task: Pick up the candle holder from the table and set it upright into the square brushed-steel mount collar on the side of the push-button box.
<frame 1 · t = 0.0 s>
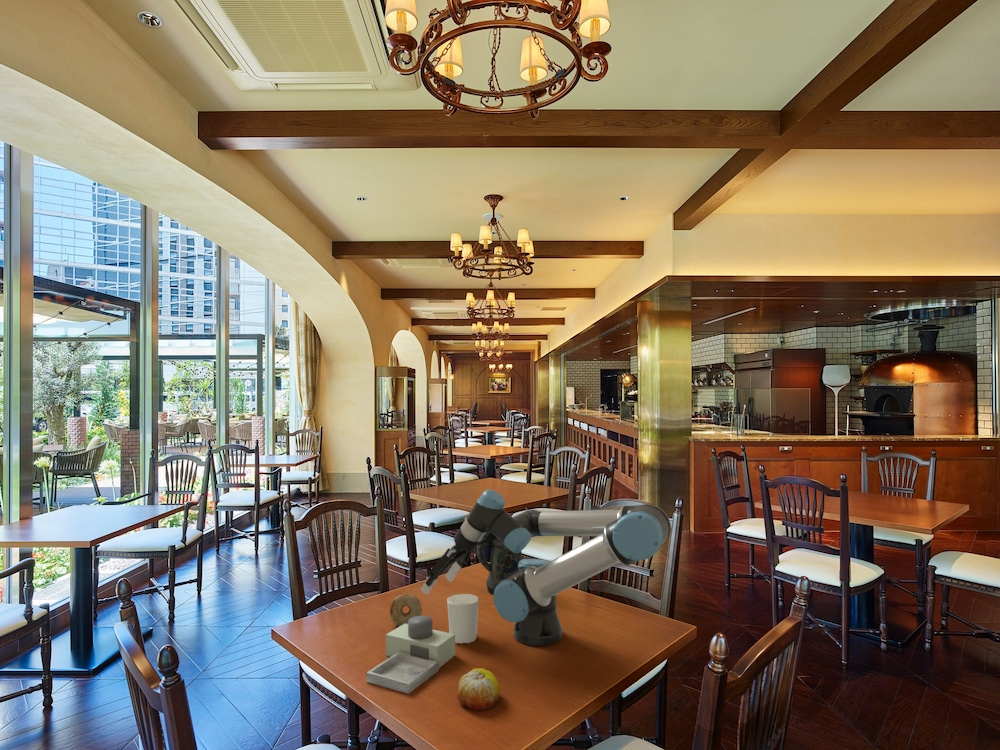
hand: (436, 585, 177), 15 cm above the table, tool tilted 35°, fingers open, 13 cm apart
fruit: (478, 701, 137), on the table
candle holder: (463, 639, 173), on the table
stone disc: (405, 626, 183), on the table
chute mount: (403, 676, 150), on the table
beer stein: (504, 591, 216), on the table
push-button box: (420, 655, 162), on the table
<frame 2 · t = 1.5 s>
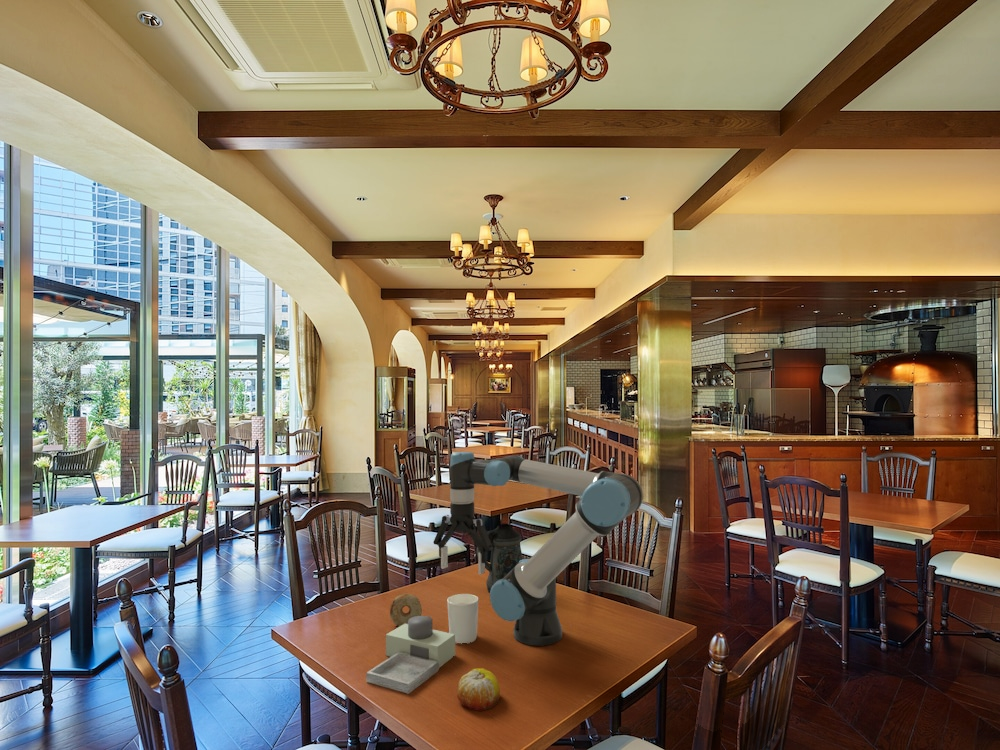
hand: (462, 570, 174), 21 cm above the table, tool pointing down, fingers open, 13 cm apart
nothing on the table moved.
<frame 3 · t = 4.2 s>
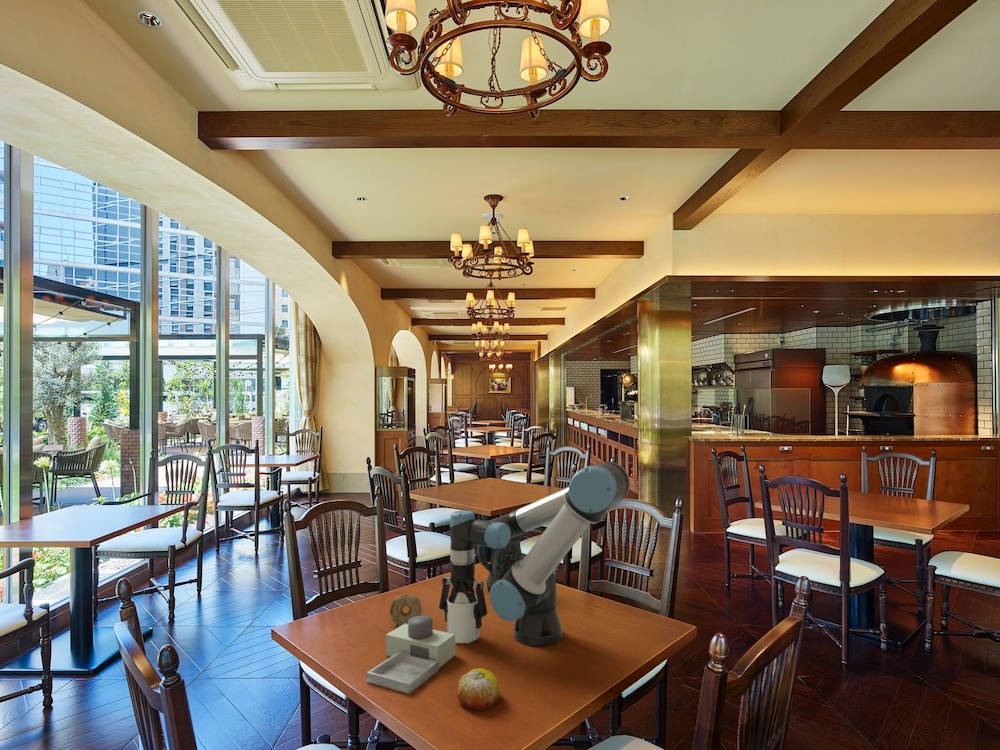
hand: (463, 635, 173), 1 cm above the table, tool pointing down, fingers closed on candle holder, 9 cm apart
candle holder: (463, 639, 173), on the table, touching gripper
everything else where it was.
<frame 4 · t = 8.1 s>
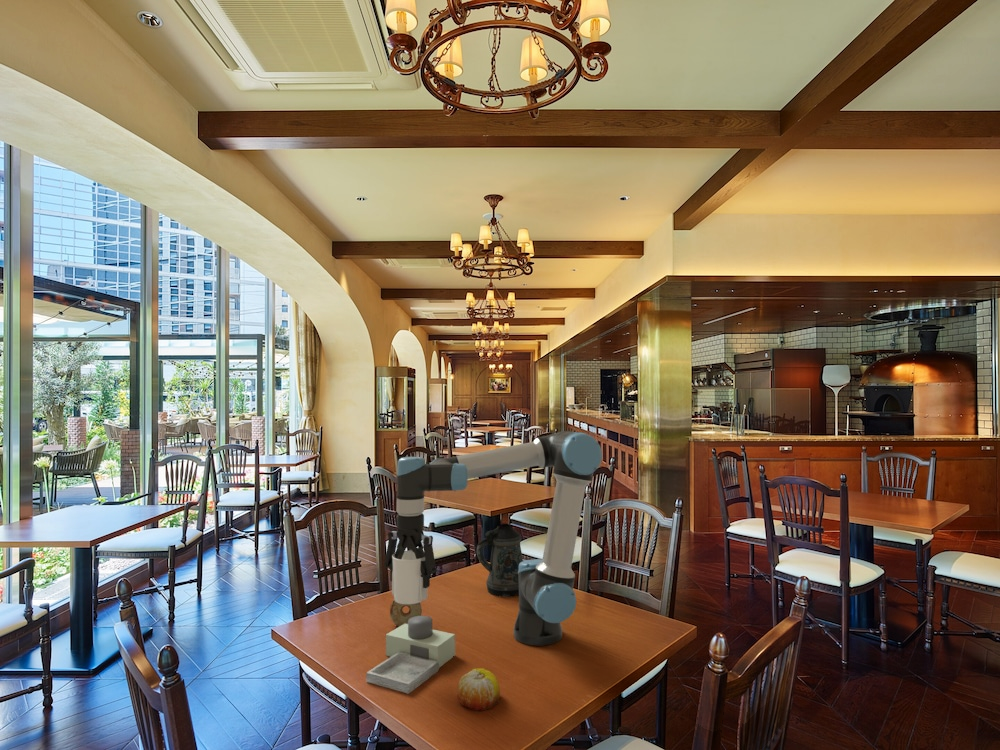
hand: (409, 596, 153), 20 cm above the table, tool pointing down, fingers closed on candle holder, 9 cm apart
candle holder: (409, 599, 153), point 19 cm above the table, touching gripper
everything else where it was.
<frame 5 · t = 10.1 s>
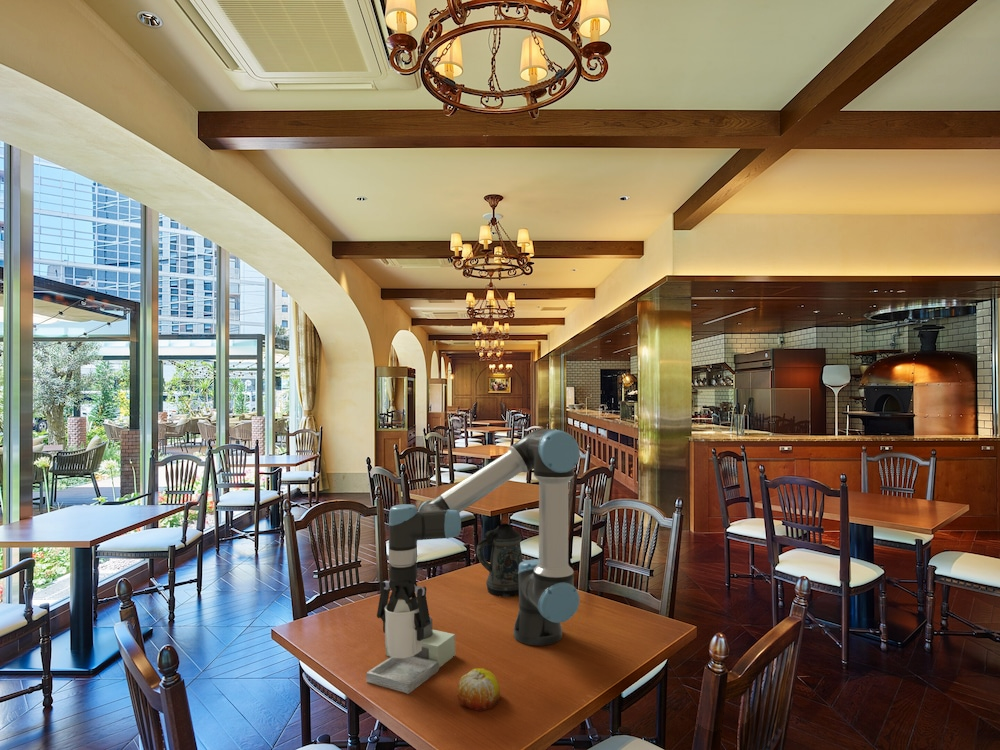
hand: (403, 648, 150), 7 cm above the table, tool pointing down, fingers closed on candle holder, 9 cm apart
candle holder: (403, 652, 150), point 6 cm above the table, touching gripper
everything else where it was.
when the fingers open (2 cm above the table, at t = 12.0 s): candle holder stays where it is, resting on chute mount.
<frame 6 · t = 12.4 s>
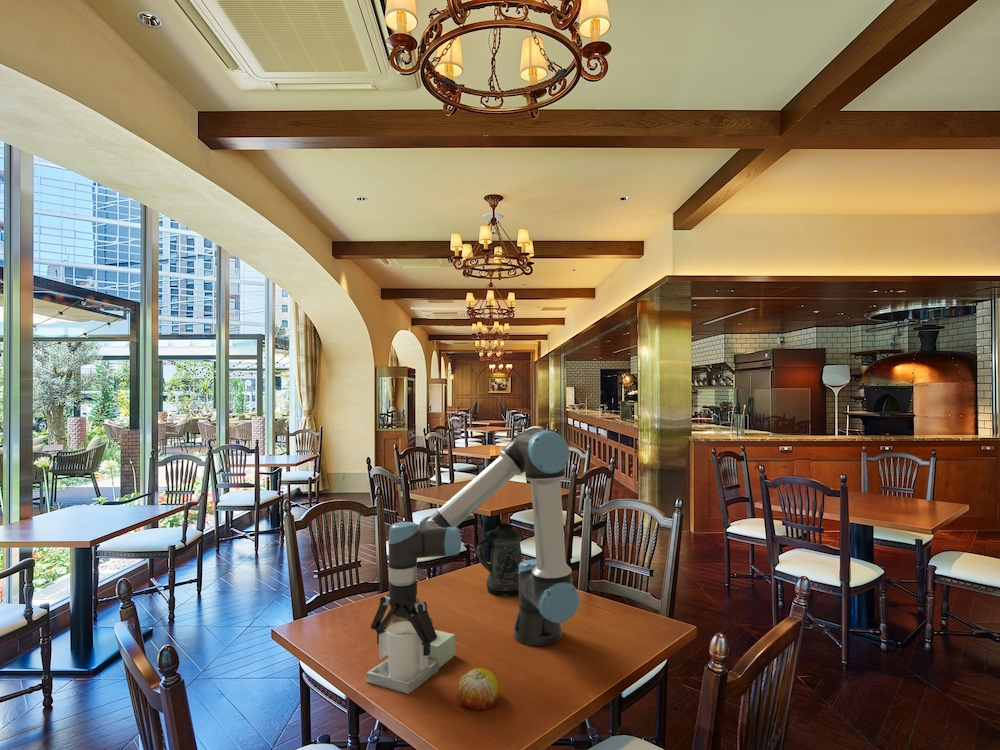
hand: (403, 661, 150), 4 cm above the table, tool pointing down, fingers open, 13 cm apart
candle holder: (404, 674, 150), resting on chute mount
everything else where it was.
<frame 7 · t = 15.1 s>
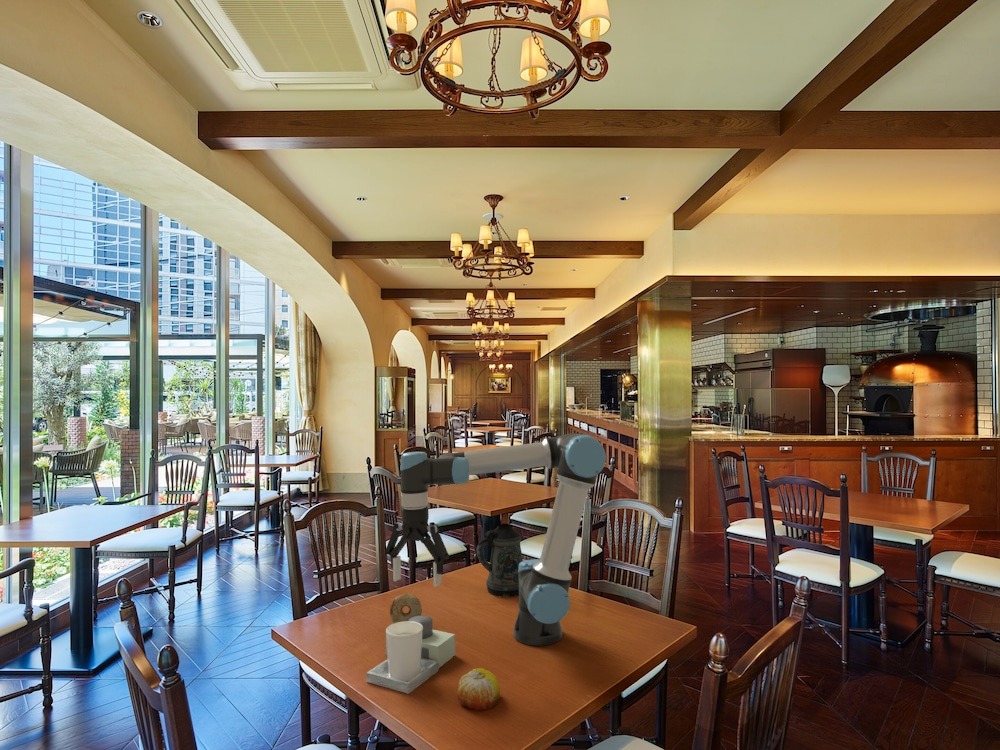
hand: (417, 582, 158), 22 cm above the table, tool pointing down, fingers open, 13 cm apart
nothing on the table moved.
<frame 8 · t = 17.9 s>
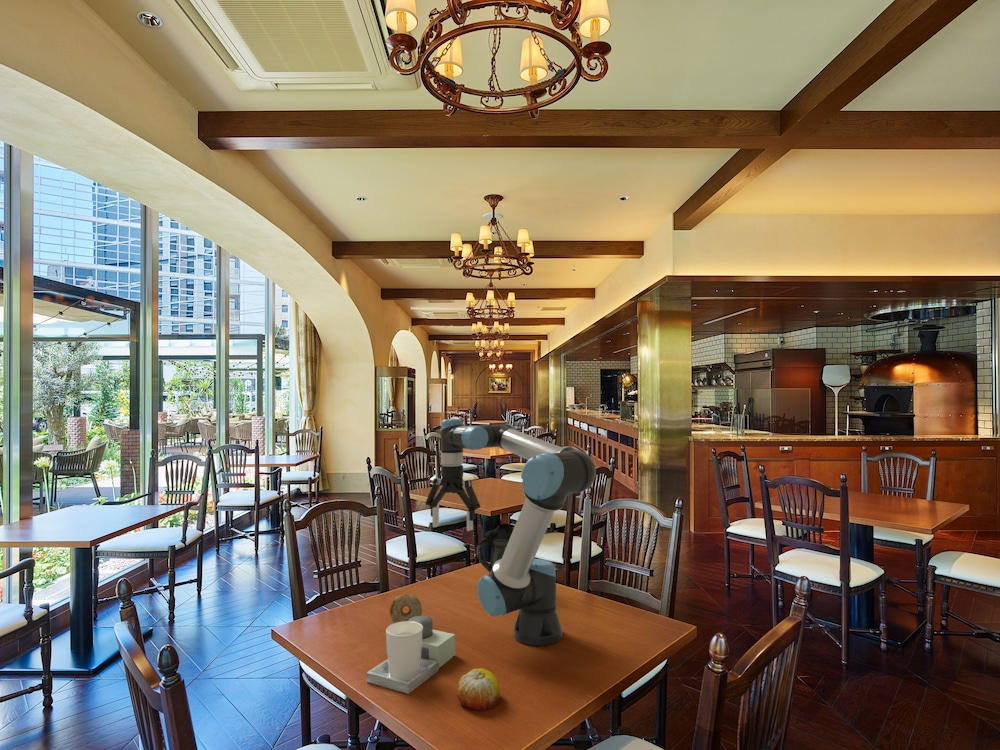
hand: (452, 528, 188), 31 cm above the table, tool pointing down, fingers open, 13 cm apart
nothing on the table moved.
at the end: candle holder 0.4 cm off-centre on the chute mount, point 0.4 cm above the chute mount's base; candle holder tilted 0°; the gripper is holding nothing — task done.
